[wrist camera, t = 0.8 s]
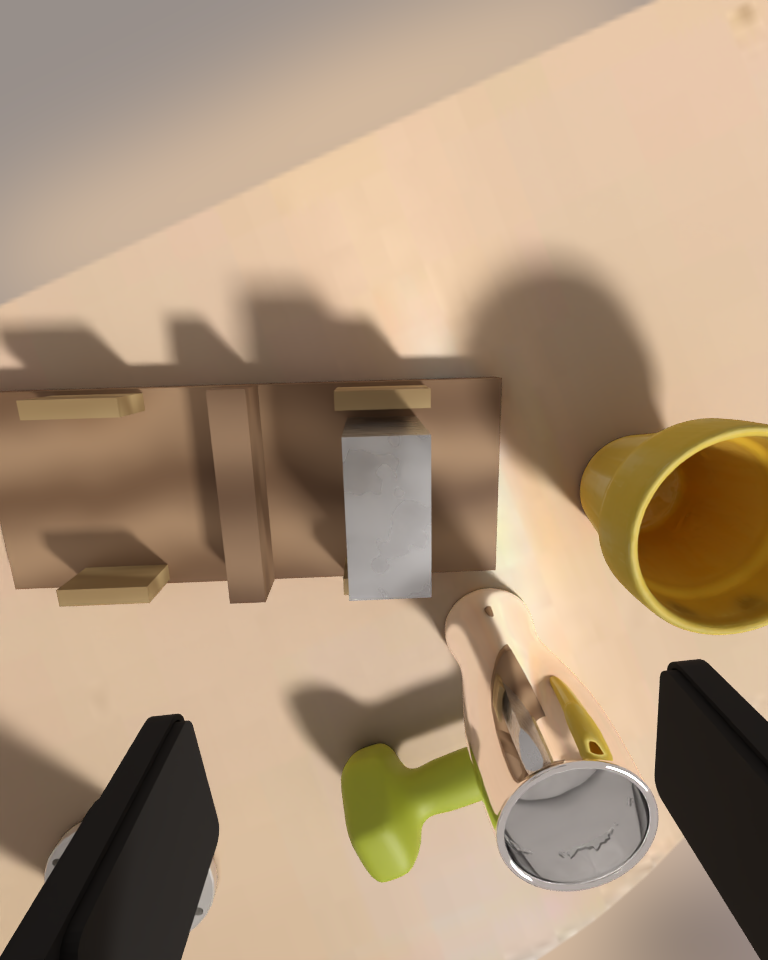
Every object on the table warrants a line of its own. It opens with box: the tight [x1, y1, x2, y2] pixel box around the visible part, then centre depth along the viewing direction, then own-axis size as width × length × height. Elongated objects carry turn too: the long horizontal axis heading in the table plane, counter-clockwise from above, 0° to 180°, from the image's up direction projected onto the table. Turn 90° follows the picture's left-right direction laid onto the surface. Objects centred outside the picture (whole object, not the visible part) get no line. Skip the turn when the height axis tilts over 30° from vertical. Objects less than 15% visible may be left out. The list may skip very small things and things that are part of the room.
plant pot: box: [580, 418, 768, 635], centre depth 27 cm, size 10×10×10 cm
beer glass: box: [445, 588, 658, 891], centre depth 27 cm, size 7×7×15 cm
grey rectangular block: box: [341, 416, 432, 601], centre depth 26 cm, size 8×4×7 cm, turn 1°
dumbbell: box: [341, 743, 482, 882], centre depth 33 cm, size 16×8×7 cm, turn 112°
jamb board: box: [0, 377, 502, 607], centre depth 29 cm, size 12×30×4 cm, turn 91°
